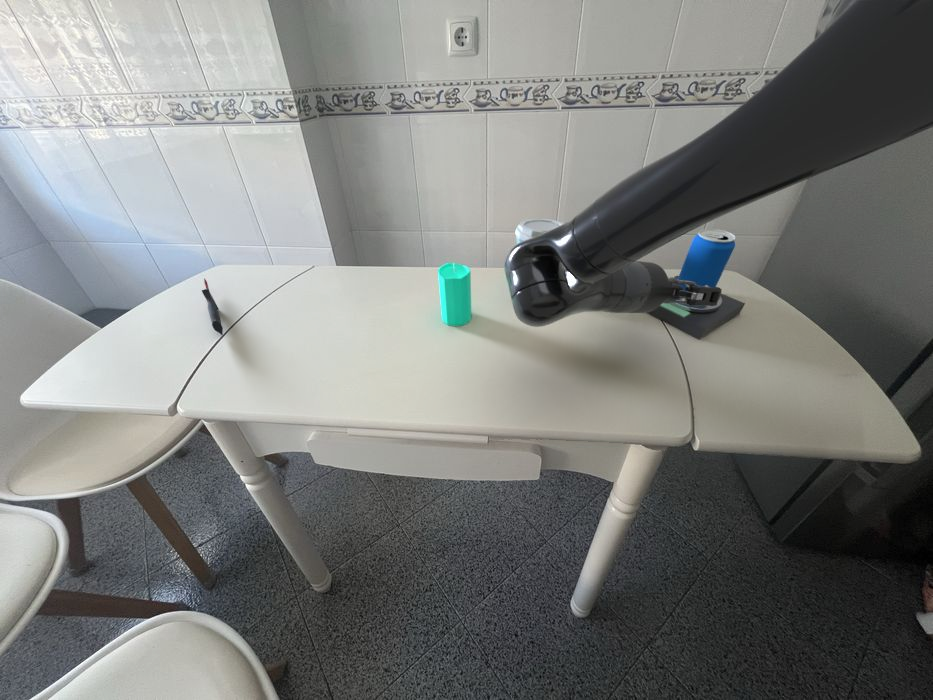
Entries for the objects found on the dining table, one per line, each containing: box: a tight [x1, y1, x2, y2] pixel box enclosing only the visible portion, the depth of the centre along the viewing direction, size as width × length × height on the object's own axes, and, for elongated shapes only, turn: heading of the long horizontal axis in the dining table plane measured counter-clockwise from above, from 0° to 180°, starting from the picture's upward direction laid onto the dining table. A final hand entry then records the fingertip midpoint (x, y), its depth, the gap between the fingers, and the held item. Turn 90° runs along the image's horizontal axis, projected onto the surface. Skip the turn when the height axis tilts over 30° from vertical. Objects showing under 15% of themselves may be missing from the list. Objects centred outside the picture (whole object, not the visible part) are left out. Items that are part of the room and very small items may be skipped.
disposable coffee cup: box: [514, 217, 565, 245], centre depth 76 cm, size 11×11×15 cm
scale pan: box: [669, 297, 722, 313], centre depth 71 cm, size 10×10×1 cm
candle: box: [437, 261, 472, 327], centre depth 69 cm, size 6×6×12 cm
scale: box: [647, 274, 746, 340], centre depth 72 cm, size 14×14×3 cm
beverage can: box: [678, 228, 736, 298], centre depth 67 cm, size 6×6×12 cm
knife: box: [201, 278, 224, 336], centre depth 76 cm, size 24×2×5 cm, turn 35°
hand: (689, 289), depth 60 cm, fingers open, 8 cm apart
